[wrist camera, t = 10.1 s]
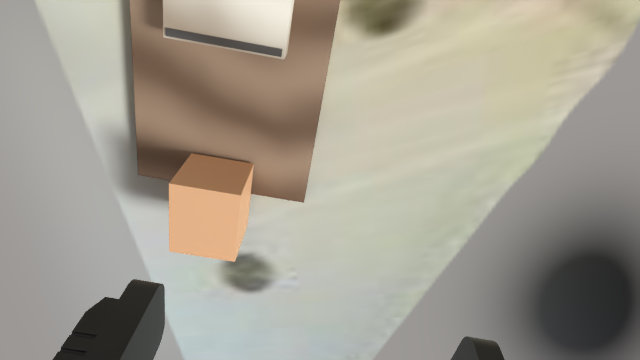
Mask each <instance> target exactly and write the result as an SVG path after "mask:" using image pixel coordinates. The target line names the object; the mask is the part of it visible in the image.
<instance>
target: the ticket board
mask: <svg viewBox="0 0 640 360" xmlns="http://www.w3.org/2000/svg"><path fill="white" fill-rule="evenodd" d="M339 3H340V0H130V18H131V38H132V58H133V79H134V99H135V120H136V140H137V160H138V175H142V176H148V177H154V178H160V179H166V180H172V179H173V177H174V176H175V175H176V173H177V172H178V171H179V169H180V168H181V167H182V165H183V164H184V163H185V161H186V160H187V159H188V157H189V156H190V155H191V153H193V154H199V155H205V156H211V157H217V158H223V159H229V160H234V161H240V162H246V163H252V164H254V167H253V177H252V187H251V194H256V195H262V196H268V197H274V198H280V199H286V200H292V201H298V202H304V198H305V193H306V187H307V182H308V176H309V170H310V165H311V159H312V154H313V148H314V143H315V137H316V131H317V126H318V120H319V115H320V109H321V104H322V98H323V92H324V87H325V81H326V76H327V70H328V65H329V59H330V54H331V48H332V42H333V37H334V31H335V26H336V20H337V15H338V9H339Z"/></svg>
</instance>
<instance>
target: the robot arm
mask: <svg viewBox="0 0 640 360" xmlns="http://www.w3.org/2000/svg"><path fill="white" fill-rule="evenodd" d="M164 323H165V300H164V285H163V284H159V283H153V282H147V281H141V280H135V279H134V280H132V281H131V282H130V283H129V284H128V286H127V288H126V289H125V291H124V292H123V294H122V295H121V297H120V299H114V298H108V297H105V298H104V299H102V300H101V301H100V302H99V303H97V304H96V305H94V306H93V307H92V308H90V309H89V310H88V311H86V312H85V314H84V315H83V317H82V318H81V319H80V321H79V322H78V324H77V325H76V327H75V328H74V330H73V331H72V334H71V335H69V337H68V338H67V340H66V341H65V343H64V344H63V346H62V347H61V350H60V352H58V353H57V354H56V356H55V357H54V359H53V360H153V358H154V356H155V354H156V351H157V350H158V347H159V345H160V342H161V339H162V335H163V330H164ZM451 360H504V357H503V355H502V353H501V350H500V347H499V346H498V344H497V343H496V342H494V341H491V340H485V339H478V338H473V337H464V338H463V339H462V341H461V343H460V345H459V346H458V348H457V350H456V352H455V354H454V355H453V357H452V359H451Z"/></svg>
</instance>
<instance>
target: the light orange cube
mask: <svg viewBox="0 0 640 360" xmlns="http://www.w3.org/2000/svg"><path fill="white" fill-rule="evenodd" d="M253 167H254V164H252V163H246V162H240V161H234V160H229V159H223V158H217V157H211V156H205V155H199V154H193V153H191V155H190V156H189V157H188V159H187V160H186V161H185V163H184V164H183V165H182V167H181V168H180V169H179V171H178V172H177V173H176V175H175V176H174V177H173V179H172V180H171V181H170V183H169V251H170V252H177V253H183V254H189V255H196V256H202V257H208V258H215V259H221V260H227V261H234V262H235V260H236V257H237V254H238V251H239V248H240V245H241V242H242V239H243V236H244V233H245V230H246V227H247V225H248V215H249V206H250V196H251V187H252V177H253Z"/></svg>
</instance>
